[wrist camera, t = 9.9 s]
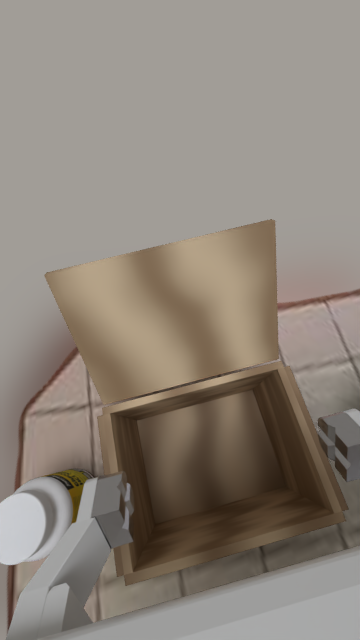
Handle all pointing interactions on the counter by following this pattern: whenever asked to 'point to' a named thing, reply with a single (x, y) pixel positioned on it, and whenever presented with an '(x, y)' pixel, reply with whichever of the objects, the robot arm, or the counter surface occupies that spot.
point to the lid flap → (173, 310)
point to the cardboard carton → (217, 470)
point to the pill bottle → (39, 515)
